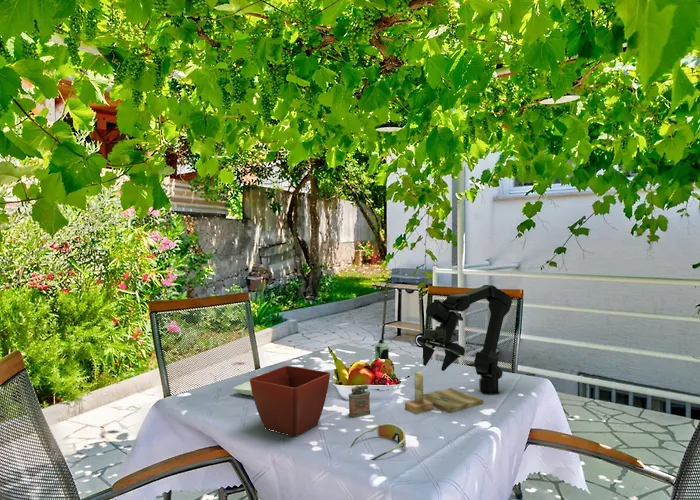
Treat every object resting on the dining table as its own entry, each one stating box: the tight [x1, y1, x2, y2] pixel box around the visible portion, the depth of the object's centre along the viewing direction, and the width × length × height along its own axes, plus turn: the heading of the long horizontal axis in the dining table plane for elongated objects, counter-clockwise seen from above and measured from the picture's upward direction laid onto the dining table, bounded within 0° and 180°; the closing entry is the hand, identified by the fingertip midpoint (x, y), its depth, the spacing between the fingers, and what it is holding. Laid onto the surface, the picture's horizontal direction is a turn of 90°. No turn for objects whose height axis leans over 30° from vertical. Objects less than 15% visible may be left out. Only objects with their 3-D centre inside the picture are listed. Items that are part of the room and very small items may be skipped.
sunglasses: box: [349, 422, 407, 461], centre depth 140 cm, size 14×15×5 cm
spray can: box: [374, 338, 390, 361], centre depth 196 cm, size 6×6×20 cm
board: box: [423, 387, 484, 414], centre depth 179 cm, size 17×17×2 cm
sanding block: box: [404, 371, 434, 415], centre depth 171 cm, size 8×6×13 cm
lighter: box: [348, 384, 371, 418], centre depth 167 cm, size 8×3×10 cm, turn 118°
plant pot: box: [249, 365, 331, 437], centre depth 156 cm, size 19×19×17 cm
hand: (433, 367), depth 173 cm, fingers open, 9 cm apart
